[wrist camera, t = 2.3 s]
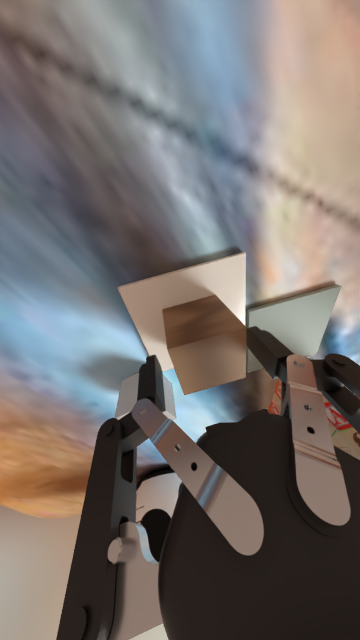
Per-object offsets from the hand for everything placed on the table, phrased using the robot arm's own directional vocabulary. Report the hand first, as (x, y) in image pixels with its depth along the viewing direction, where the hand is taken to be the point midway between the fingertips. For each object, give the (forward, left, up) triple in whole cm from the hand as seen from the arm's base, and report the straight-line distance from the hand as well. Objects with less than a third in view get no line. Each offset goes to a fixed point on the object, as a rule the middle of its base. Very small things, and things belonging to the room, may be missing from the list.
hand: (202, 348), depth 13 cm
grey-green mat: (-12, +6, -5) cm, 15 cm away
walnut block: (0, 0, -4) cm, 4 cm away
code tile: (0, 0, -5) cm, 5 cm away
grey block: (+8, +8, -5) cm, 12 cm away
